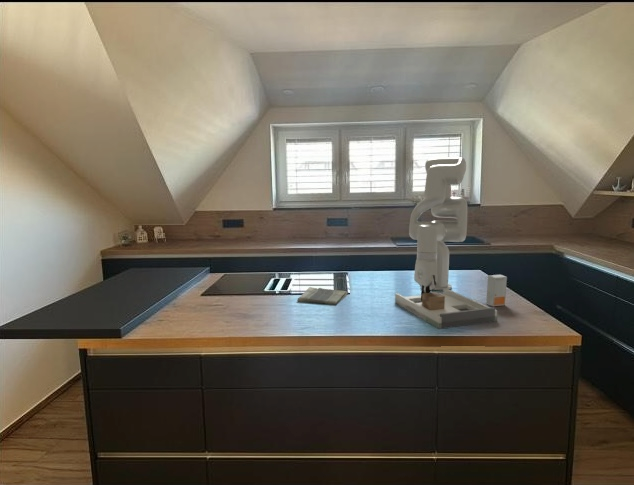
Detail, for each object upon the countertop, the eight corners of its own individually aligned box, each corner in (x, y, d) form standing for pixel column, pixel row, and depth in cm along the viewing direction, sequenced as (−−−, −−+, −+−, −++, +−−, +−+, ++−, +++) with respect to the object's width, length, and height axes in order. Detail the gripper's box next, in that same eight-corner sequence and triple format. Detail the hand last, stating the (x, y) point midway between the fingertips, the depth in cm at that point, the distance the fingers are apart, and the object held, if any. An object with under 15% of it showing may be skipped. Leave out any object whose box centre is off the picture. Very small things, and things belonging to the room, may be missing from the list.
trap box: (395, 302, 173) (395, 291, 172) (445, 297, 179) (445, 285, 179) (438, 328, 142) (439, 314, 142) (496, 321, 149) (497, 307, 148)
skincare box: (492, 306, 165) (494, 277, 163) (485, 303, 169) (487, 275, 167) (505, 305, 167) (507, 276, 165) (498, 302, 171) (500, 274, 169)
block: (422, 305, 161) (422, 293, 161) (435, 304, 163) (436, 292, 162) (430, 310, 156) (430, 297, 155) (444, 308, 157) (444, 296, 156)
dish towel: (337, 307, 170) (337, 299, 169) (296, 303, 176) (296, 295, 175) (348, 294, 187) (348, 287, 187) (311, 291, 193) (311, 285, 192)
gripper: (408, 253, 168) (407, 297, 171) (428, 260, 154) (427, 307, 156) (425, 252, 170) (424, 295, 173) (446, 258, 156) (444, 305, 158)
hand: (425, 301), depth 164 cm, fingers closed
